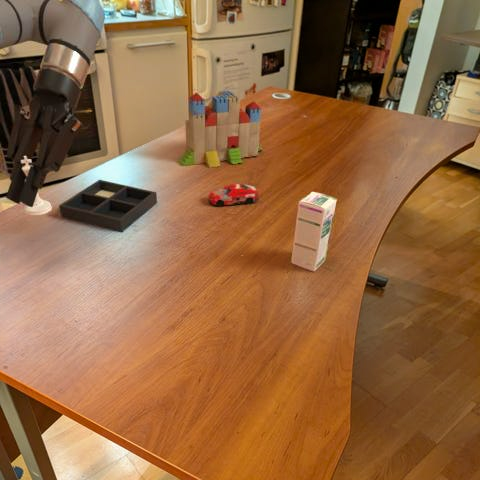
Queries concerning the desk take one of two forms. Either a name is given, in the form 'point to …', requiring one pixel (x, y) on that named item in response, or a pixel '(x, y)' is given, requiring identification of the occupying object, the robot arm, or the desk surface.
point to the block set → (221, 130)
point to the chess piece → (39, 204)
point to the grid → (108, 205)
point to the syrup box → (313, 230)
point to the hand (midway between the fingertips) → (19, 202)
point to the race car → (234, 195)
